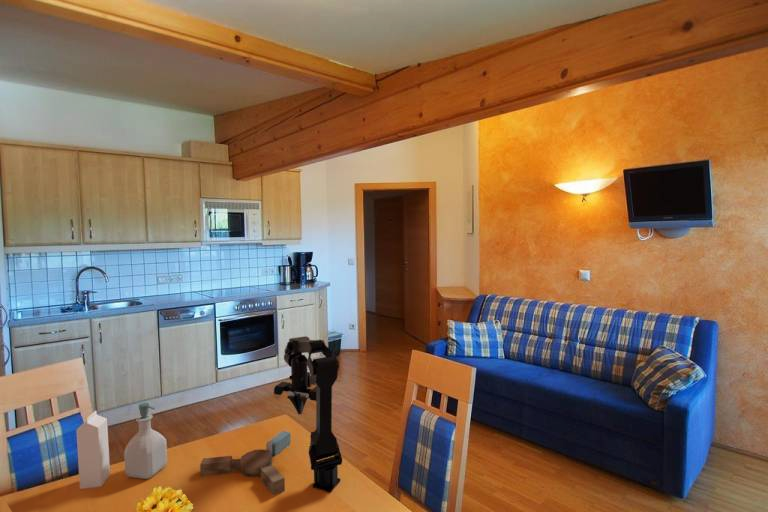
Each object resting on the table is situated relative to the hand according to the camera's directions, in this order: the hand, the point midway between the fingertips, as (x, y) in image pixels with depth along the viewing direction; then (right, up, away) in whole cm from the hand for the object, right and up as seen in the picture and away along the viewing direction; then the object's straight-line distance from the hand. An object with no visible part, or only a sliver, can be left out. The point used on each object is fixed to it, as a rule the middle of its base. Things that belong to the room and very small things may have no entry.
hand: (300, 414), depth 148 cm
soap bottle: (-47, -14, -14) cm, 51 cm away
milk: (-60, -14, -20) cm, 65 cm away
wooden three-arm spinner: (-13, -13, -15) cm, 24 cm away
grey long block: (-8, -12, -2) cm, 15 cm away
